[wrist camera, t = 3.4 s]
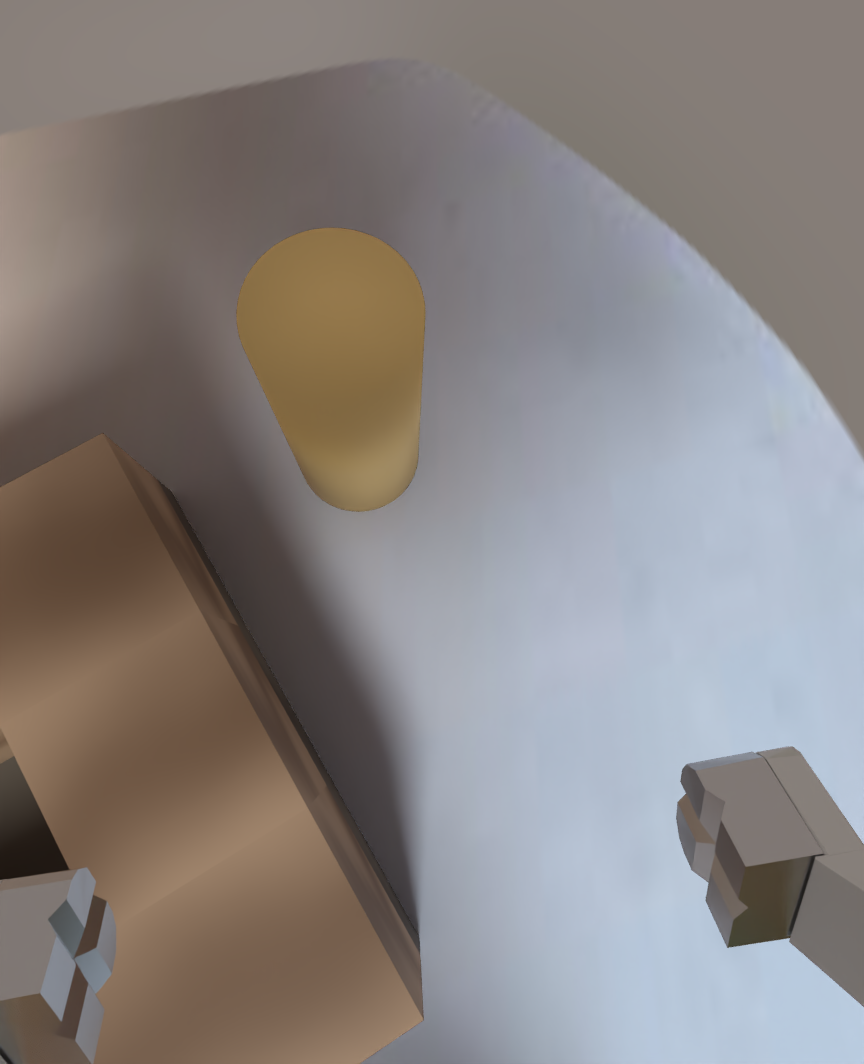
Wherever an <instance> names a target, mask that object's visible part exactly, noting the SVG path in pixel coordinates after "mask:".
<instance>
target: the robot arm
mask: <svg viewBox="0 0 864 1064" xmlns="http://www.w3.org/2000/svg"><path fill="white" fill-rule="evenodd" d="M680 782H681V784H682V786H683V788H684V790H685V792H686V794H685V795H684V796H683V797H682V798H681V799H680V800H679V801H678V804H677V815H676V820H677V826H678V833H679V838H680V841H681V844H682V848H683V851H684V854H685V856H686V858H687V860H688V863H689V865H690V867H691V870H692V871H693V872H695V873H696V874H698V875H699V876H700V877H702V878H703V879H704V880H706V881H707V882H708V883H709V884H708V890H707V896H706V903H707V905H708V907H709V909H710V911H711V913H712V916H713V918H714V920H715V922H716V924H717V926H718V929H719V931H720V933H721V935H722V937H723V939H724V942H725V944H726V946H727V948H729V947H736V946H742V945H748V944H755V943H761V942H768V941H774V940H781V939H787V938H790V941H789V942H790V943H791V944H792V945H794V946H795V947H796V948H797V949H798V950H799V951H800V952H802V953H803V954H804V955H805V956H806V957H807V958H808V959H810V960H811V961H812V962H813V963H814V964H815V965H816V966H818V967H819V968H820V969H821V970H822V971H823V972H824V973H826V974H827V975H828V976H829V977H830V978H831V979H832V980H834V981H835V982H836V983H837V984H838V985H839V986H840V987H842V988H843V989H844V990H845V991H846V992H847V993H848V994H850V995H851V996H852V997H853V998H854V999H855V1000H856V1001H858V1002H859V1003H860V1004H861V1005H862V1006H863V1007H864V844H863V843H862V841H861V840H860V838H859V837H858V836H857V834H856V833H855V831H854V830H853V828H852V827H851V825H850V824H849V822H848V821H847V819H846V818H845V817H844V815H843V814H842V812H841V811H840V809H839V808H838V806H837V805H836V803H835V802H834V801H833V799H832V798H831V796H830V795H829V793H828V792H827V790H826V789H825V787H824V786H823V785H822V783H821V782H820V780H819V779H818V777H817V776H816V774H815V773H814V771H813V770H812V769H811V767H810V766H809V764H808V763H807V761H806V760H805V758H804V757H803V755H802V754H801V752H799V751H798V750H797V749H795V748H794V747H782V748H777V749H771V750H766V751H761V752H756V753H754V752H748V753H743V754H738V755H732V756H727V757H722V758H716V759H711V760H706V761H700V762H695V763H690V764H686V765H685V767H684V768H683V769H682V775H681V781H680ZM95 884H96V881H95V879H94V878H93V876H92V874H91V873H90V871H89V870H88V868H87V867H85V868H78V869H72V870H65V871H59V872H52V873H45V874H39V875H32V876H26V877H19V878H13V879H4V880H0V1064H93V1062H94V1058H95V1053H96V1048H97V1043H98V1039H99V1034H100V1029H101V1024H102V1020H103V1015H104V1010H105V1009H104V1008H103V1006H102V1004H101V1002H100V1000H99V998H98V996H97V994H96V993H97V992H98V991H99V990H100V988H101V987H102V986H103V985H104V983H105V982H106V981H107V979H108V978H109V977H110V976H111V974H112V971H113V966H114V960H115V955H116V924H115V920H114V915H113V911H112V910H111V908H110V906H109V904H108V902H107V901H106V900H104V899H102V898H99V897H97V896H95V895H93V892H94V888H95Z"/></svg>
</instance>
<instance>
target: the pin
mask: <svg viewBox="0 0 864 1064" xmlns="http://www.w3.org/2000/svg"><path fill="white" fill-rule="evenodd" d="M236 314H237V327H238V333H239V337H240V340H241V343H242V346H243V348H244V350H245V352H246V354H247V357H248V359H249V361H250V363H251V365H252V367H253V369H254V371H255V374H256V376H257V378H258V380H259V382H260V384H261V386H262V388H263V391H264V393H265V395H266V397H267V399H268V401H269V403H270V405H271V408H272V410H273V412H274V414H275V416H276V418H277V420H278V422H279V425H280V427H281V429H282V431H283V433H284V435H285V437H286V439H287V442H288V444H289V446H290V448H291V450H292V452H293V454H294V456H295V459H296V461H297V463H298V465H299V467H300V469H301V471H302V473H303V476H304V478H305V480H306V482H307V483H308V485H309V486H310V488H311V489H312V490H313V491H314V493H315V494H316V495H317V496H318V497H320V498H321V499H322V500H323V501H325V502H327V503H328V504H330V505H332V506H334V507H337V508H340V509H343V510H348V511H358V512H360V511H369V510H374V509H377V508H380V507H383V506H385V505H387V504H389V503H391V502H392V501H394V500H395V499H396V498H398V497H399V496H400V495H401V494H402V493H403V492H404V491H405V490H406V488H407V487H408V486H409V484H410V483H411V481H412V479H413V477H414V474H415V471H416V468H417V463H418V451H419V431H420V411H421V391H422V372H423V352H424V332H425V301H424V297H423V293H422V289H421V286H420V284H419V281H418V279H417V277H416V275H415V273H414V272H413V270H412V268H411V267H410V266H409V264H408V263H407V262H406V260H405V259H404V258H403V257H402V256H401V255H400V254H399V253H398V252H397V251H395V250H394V249H393V248H392V247H390V246H389V245H388V244H386V243H384V242H383V241H381V240H379V239H377V238H375V237H373V236H371V235H368V234H366V233H362V232H359V231H356V230H351V229H345V228H319V229H313V230H308V231H304V232H301V233H298V234H295V235H293V236H291V237H288V238H286V239H284V240H282V241H281V242H279V243H277V244H276V245H274V246H273V247H272V248H270V249H269V250H268V251H267V252H265V253H264V254H263V255H262V256H261V257H260V258H259V259H258V260H257V262H256V263H255V264H254V266H253V267H252V268H251V270H250V271H249V273H248V275H247V277H246V278H245V280H244V283H243V285H242V288H241V290H240V294H239V298H238V303H237V312H236Z"/></svg>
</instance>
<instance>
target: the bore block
mask: <svg viewBox="0 0 864 1064" xmlns="http://www.w3.org/2000/svg"><path fill="white" fill-rule="evenodd" d="M85 867H87V868H88V870H89V871H90V873H91V874H92V876H93V878H94V879H95V881H96V884H95V888H94V892H93V895H95V896H97V897H99V898H102V899H104V900H106V901H107V902H108V904H109V906H110V908H111V910H112V911H113V915H114V920H115V924H116V955H115V960H114V966H113V971H112V974H111V976H110V977H109V978H108V979H107V981H106V982H105V983H104V985H103V986H102V987H101V988H100V990H99V991H98V992H97V993H96V994H97V996H98V998H99V1000H100V1002H101V1004H102V1006H103V1008H104V1009H105V1010H104V1015H103V1020H102V1024H101V1029H100V1034H99V1039H98V1043H97V1048H96V1053H95V1058H94V1062H93V1064H360V1063H361V1062H363V1061H364V1060H366V1059H367V1058H369V1057H370V1056H372V1055H373V1054H375V1053H376V1052H378V1051H379V1050H380V1049H382V1048H383V1047H385V1046H386V1045H388V1044H389V1043H391V1042H392V1041H394V1040H395V1039H397V1038H398V1037H400V1036H401V1035H403V1034H404V1033H406V1032H407V1031H408V1030H410V1029H411V1028H413V1027H414V1026H416V1025H417V1024H419V1023H420V1022H422V1021H423V1020H424V1015H423V996H422V978H421V959H420V940H419V936H418V935H417V933H416V931H415V929H414V927H413V926H412V924H411V922H410V920H409V918H408V917H407V915H406V913H405V911H404V909H403V908H402V906H401V904H400V902H399V900H398V899H397V897H396V895H395V893H394V891H393V890H392V888H391V886H390V884H389V882H388V881H387V879H386V877H385V875H384V873H383V872H382V870H381V868H380V866H379V864H378V863H377V861H376V859H375V857H374V855H373V854H372V852H371V850H370V848H369V846H368V845H367V843H366V841H365V839H364V837H363V836H362V834H361V832H360V830H359V828H358V827H357V825H356V823H355V821H354V819H353V818H352V816H351V814H350V812H349V810H348V809H347V807H346V805H345V803H344V801H343V800H342V798H341V796H340V794H339V792H338V791H337V789H336V787H335V785H334V783H333V782H332V780H331V778H330V776H329V774H328V773H327V771H326V769H325V767H324V765H323V764H322V762H321V760H320V758H319V756H318V755H317V753H316V751H315V749H314V747H313V746H312V744H311V742H310V740H309V738H308V737H307V735H306V733H305V731H304V729H303V728H302V726H301V724H300V722H299V720H298V719H297V717H296V715H295V713H294V711H293V710H292V708H291V706H290V704H289V702H288V701H287V699H286V697H285V695H284V693H283V692H282V690H281V688H280V686H279V684H278V683H277V681H276V679H275V677H274V675H273V674H272V672H271V670H270V668H269V666H268V665H267V663H266V661H265V659H264V657H263V656H262V654H261V652H260V650H259V648H258V647H257V645H256V643H255V641H254V639H253V638H252V636H251V634H250V632H249V630H248V629H247V627H246V625H245V623H244V621H243V620H242V618H241V616H240V614H239V612H238V611H237V609H236V607H235V605H234V603H233V602H232V600H231V598H230V596H229V594H228V593H227V591H226V589H225V587H224V585H223V584H222V582H221V580H220V578H219V576H218V575H217V573H216V571H215V569H214V567H213V566H212V564H211V562H210V560H209V558H208V557H207V555H206V553H205V551H204V549H203V548H202V546H201V544H200V542H199V540H198V539H197V537H196V535H195V533H194V531H193V530H192V528H191V526H190V524H189V522H188V521H187V519H186V517H185V515H184V513H183V512H182V510H181V508H180V506H179V504H178V503H177V501H176V499H175V497H174V495H173V494H172V492H171V491H170V490H169V489H168V488H166V487H165V486H164V485H163V484H162V483H161V482H159V481H158V480H157V479H156V478H155V477H154V476H152V475H151V474H150V473H149V472H148V471H147V470H145V469H144V468H143V467H142V466H141V465H140V464H138V463H137V462H136V461H135V460H134V459H133V458H131V457H130V456H129V455H128V454H127V453H126V452H124V451H123V450H122V449H121V448H120V447H119V446H117V445H116V444H115V443H114V442H113V441H112V440H111V439H109V438H108V437H107V436H106V435H105V434H104V433H102V434H100V435H98V436H96V437H94V438H92V439H90V440H88V441H86V442H85V443H83V444H81V445H79V446H77V447H75V448H73V449H71V450H69V451H68V452H66V453H64V454H62V455H60V456H58V457H56V458H54V459H52V460H51V461H49V462H47V463H45V464H43V465H41V466H39V467H37V468H35V469H34V470H32V471H30V472H28V473H26V474H24V475H22V476H20V477H19V478H17V479H15V480H13V481H11V482H9V483H7V484H5V485H3V486H2V487H0V880H4V879H13V878H19V877H26V876H32V875H39V874H45V873H52V872H59V871H65V870H72V869H78V868H85Z"/></svg>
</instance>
